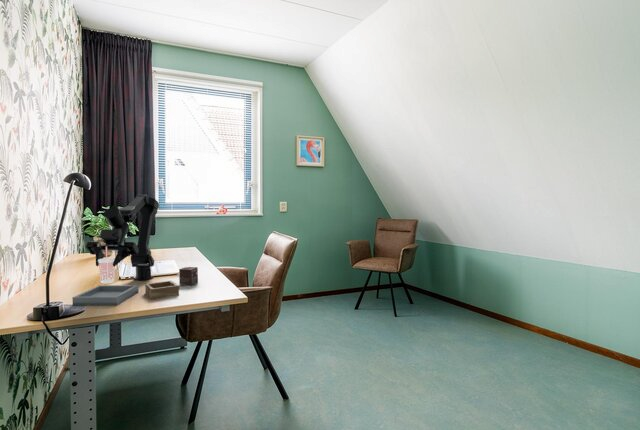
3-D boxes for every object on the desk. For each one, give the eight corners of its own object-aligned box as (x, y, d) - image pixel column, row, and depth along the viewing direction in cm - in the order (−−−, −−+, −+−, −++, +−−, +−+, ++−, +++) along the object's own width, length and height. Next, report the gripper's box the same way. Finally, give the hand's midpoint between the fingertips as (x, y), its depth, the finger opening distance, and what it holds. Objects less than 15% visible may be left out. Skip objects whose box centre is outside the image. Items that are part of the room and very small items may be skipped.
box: (191, 286, 171) (191, 269, 171) (179, 285, 173) (178, 269, 172) (198, 282, 177) (198, 267, 177) (186, 282, 179) (186, 266, 178)
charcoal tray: (99, 292, 160) (99, 285, 160) (138, 292, 160) (138, 285, 160) (72, 305, 142) (72, 297, 142) (116, 305, 142) (116, 297, 142)
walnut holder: (145, 293, 159) (145, 284, 158) (171, 289, 165) (171, 280, 164) (151, 299, 150) (151, 289, 150) (178, 295, 156) (178, 285, 156)
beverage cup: (116, 279, 155) (115, 244, 154) (116, 282, 150) (115, 247, 148) (98, 281, 152) (97, 246, 151) (98, 284, 147) (97, 248, 145)
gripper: (86, 221, 153) (70, 253, 142) (134, 221, 153) (122, 254, 143) (98, 238, 161) (84, 270, 151) (143, 238, 162) (132, 270, 152)
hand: (105, 265), depth 149 cm, fingers closed on beverage cup, 6 cm apart
